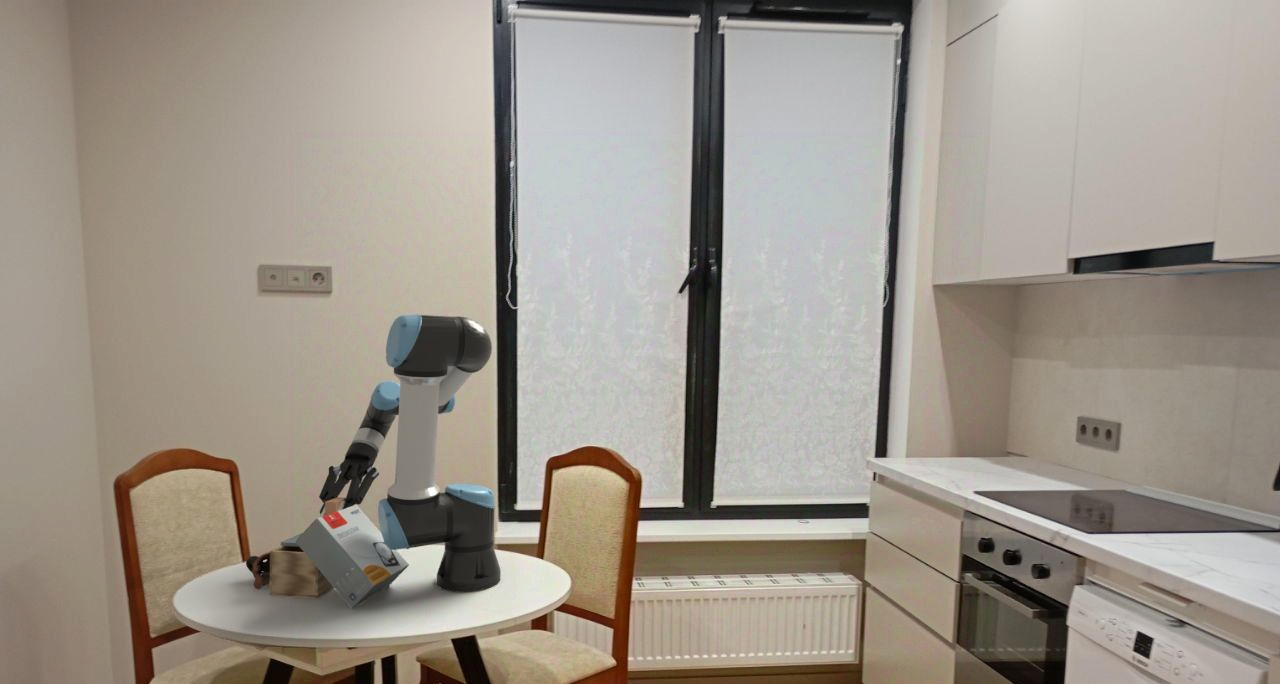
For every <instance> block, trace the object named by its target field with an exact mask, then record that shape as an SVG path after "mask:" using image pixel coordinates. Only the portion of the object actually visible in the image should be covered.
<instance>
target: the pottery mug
mask: <svg viewBox="0 0 1280 684" xmlns="http://www.w3.org/2000/svg"><path fill="white" fill-rule="evenodd" d="M245 566H246V568H247V569H248V571H250V573H251V574H252V576H253V578H254V582H253V587H254V588H255V589H257V590H260V589H261V588H262V586H266V585H270V551H268V552H266V553H263V554H262V555H259V556H257V555H252V556H249V557H248V558H247V559H246V561H245Z"/></svg>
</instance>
